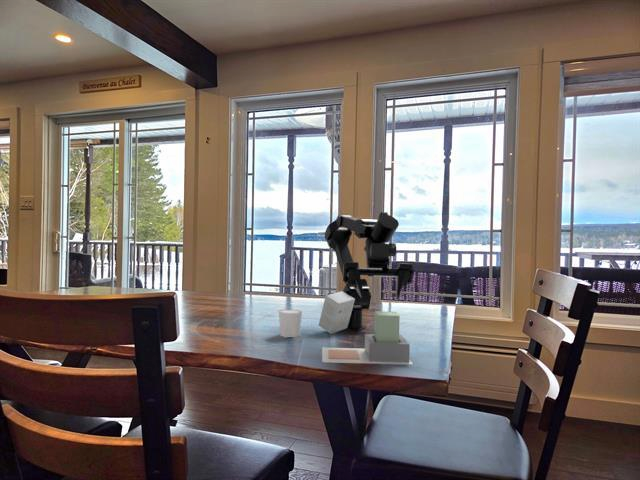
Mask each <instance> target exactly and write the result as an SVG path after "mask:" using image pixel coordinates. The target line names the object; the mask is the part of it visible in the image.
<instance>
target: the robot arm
mask: <svg viewBox="0 0 640 480" xmlns="http://www.w3.org/2000/svg"><path fill="white" fill-rule="evenodd" d="M399 226H400V224H399V220H397V219H396V218H395V217H394V216H392V215H390V214H389V213H388V212H387V211H386V212H385V211H381V212H379V215H378V218H377V219H365V218H364V219H362V218H361V219H360V218H358V217H354V216H352V215H345V214H344V215H343V214H340V215H337V217H336V219H335V220H333V221H332V222H330V223H329V224H328V225H327V228H326V229H325V231H324V239H325V241H326V243H327V245H328V247H329V248H331V249H332V250H333V251H334V253H335V256H336V259H337V262H338V265H339V269H340V272H341V275H342V282H344V286H343V289H342V291H343V292H344V293H346V294H348V295H349V296H351V297H353V298H354V299H355V301H354V305H353V309H352V312H351V316H350V320H349V323H348V327H347V328H346V329H345V330H354V331H361V330H363V329H366V328H367V325H364V324H363V320H364V319H363V318H364V317H363V315H364V314H363V313H364V310H369V309H370V305H371V301H372V293H371V291H370V287H369V284H368V281H367V280H366V278H361V276H367V277H377V278H378V277H381V278H383V277H384V278H395V279H396V283H395V296H396V300H399V299H400V296H401V291H402V290H403V287H406V286H407V285H409V284H412V282H413V277H414V274H415V266H414V265H413V264H412V263H406V262H405V263H403V262H402V263H398V264H397V268H389V266H390V263H391V262H390V261H391V260H390V257H396V255H397V253H398V252H397V244H396V243H395V242H394V243H393V242H390V241H391V240H392V238H393V236H394V234H395V233H396V231H397V230H398V227H399ZM353 232H354V236H356V237H357V239H365V240H364V241H365V246H364V249H363V251H364V252H365V258H366V259H365V260H366V266H359V262H357V261H354V260H353V257H352V254H351V251H350V247H349V243H350V240H351V236H353Z"/></svg>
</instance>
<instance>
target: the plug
mask: <svg viewBox="0 0 640 480" xmlns="http://www.w3.org/2000/svg"><path fill="white" fill-rule="evenodd" d="M373 334H374V340H375V342H399V335H400V315H399V314H398V313H397V312H396V311H378V310H377V311H376V310H375V311H374V332H373Z"/></svg>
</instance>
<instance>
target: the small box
mask: <svg viewBox="0 0 640 480" xmlns="http://www.w3.org/2000/svg"><path fill="white" fill-rule="evenodd" d="M354 301H355V299H354V298H353V297H351V296H349V295H348V294H346V293H344V292H343V290H340V291H337V292H334V293H330V294H326V295H325V296H324V301H323V305H322V309H321V313H320V317H319V320H318V321H319V322H318V327H320V328H321V329H323V330H324V331H326V332H327V333H328V334H330V335H333V334H335V333H339V332H340V331H343V330H347V329H346V328H347V327H348V323H349V320H350V316H351V312H352V309H353V305H354Z"/></svg>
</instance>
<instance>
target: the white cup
mask: <svg viewBox="0 0 640 480" xmlns="http://www.w3.org/2000/svg"><path fill="white" fill-rule="evenodd" d="M302 314H303V311H301V310H297V309H283V310H279V311H278V321H279V334H280V335H279V336H280V337H282V336H283V337H282V338H287V337H293V338H298V337H300V333H301V323H302V316H303V315H302Z"/></svg>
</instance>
